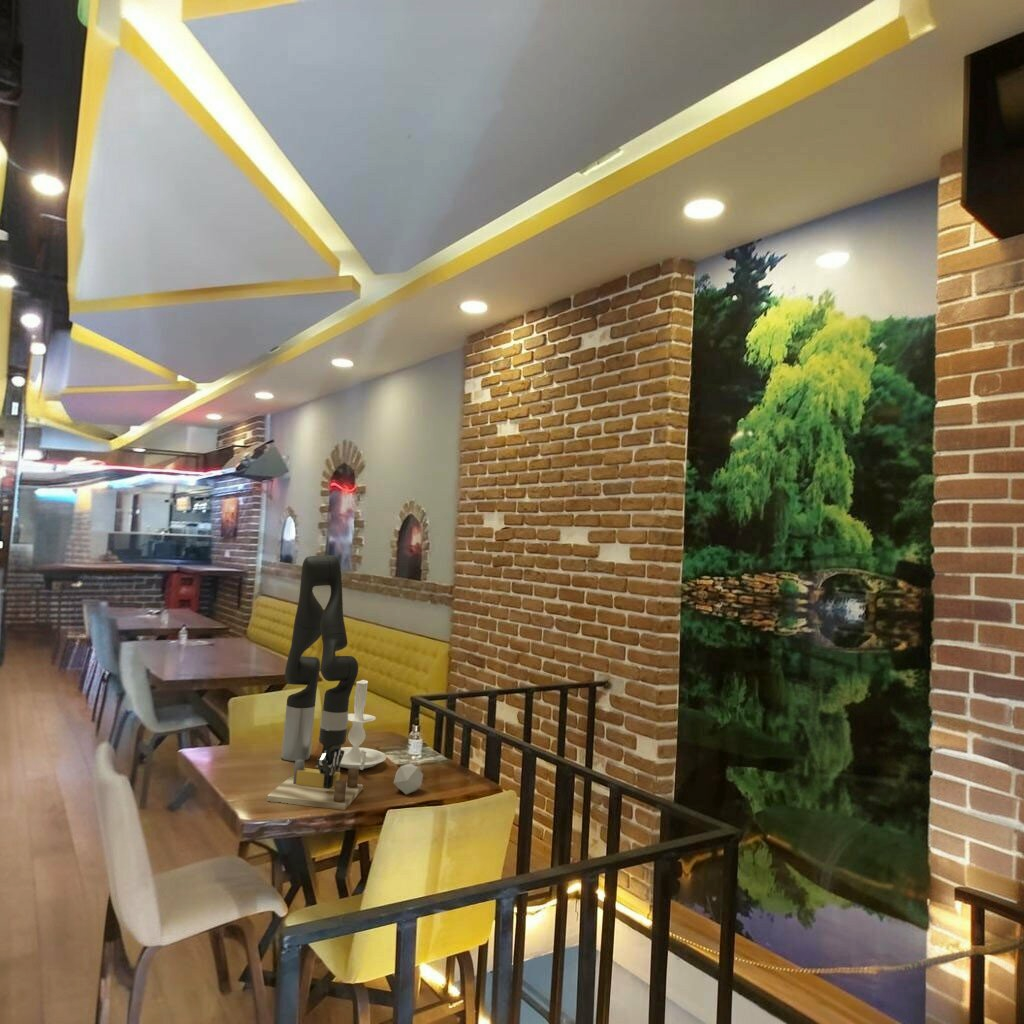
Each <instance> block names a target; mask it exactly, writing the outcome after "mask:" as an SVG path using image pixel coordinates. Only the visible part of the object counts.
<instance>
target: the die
mask: <svg viewBox="0 0 1024 1024" xmlns="http://www.w3.org/2000/svg"><path fill="white" fill-rule="evenodd" d="M423 777H424V773H423V772H422V771H421V770H420V769H419V768H418V767H417V766H416V765H415V764H414V763H412V762H410V763H407V764H404V765H401V766H400V767H399V768H398V769H397V771H396V773H395V775H394V779H393V784H394V785H395V786H396V787H397V788H398V789H399V790H400V792H402V793H403V794H405V795H406V796H407V795H409V794H412V793H414V792H417V791H418V790H419V788H420V787H421V786H422V783H423Z"/></svg>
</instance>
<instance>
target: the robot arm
mask: <svg viewBox="0 0 1024 1024" xmlns="http://www.w3.org/2000/svg"><path fill="white" fill-rule="evenodd" d="M300 576H301V577H300V585H299V586H300V587H299V596H298V603H297V607H296V611H295V612H296V613H295V617H294V622H293V629H292V638H291V644H290V649H289V653H288V657H287V661H286V664H285V665H286V666H285V671H284V679H285V682H286V683H287V684H289V685H294V686H295V685H296V686H297V685H298V686H302V685H303V686H305V688H304V689H302V690H301V691H298V692H295V693H292V694H289V695H288V696H287V699H286V707H285V717H284V726H283V736H282V737H283V738H282V744H281V755H280V756H281V759H282V760H284V761H290V762H295V760H297V759H303V760H305V761H307V760H309V759H310V758H311V750H312V740H313V732H314V731H313V729H314V719H315V709H316V708H315V707H316V698H317V688H318V683H319V676H320V673H321V676H322V677H323V679H324V680H325V681H327V682H338V684H337V685H336V686H334V687H332V688H329V689H326V691H324V696H323V706H322V708H323V709H322V714H321V718H320V727H319V736H318V742H319V744H322V750H321V757H319V758H318V757H317V759H316V764H317V765H318V768H319V771H320V774H324V783H323V787H324V788H327V789H329V788H331V787H332V786H333V776H334V774H335V771H336V770H338V768H340V767H339V766H340V763H341V760H342V758H343V755H344V751H343V750H341V748H342V746H343V745H345V743H346V741H347V735H348V733H347V732H348V723H349V721H348V714H349V704H350V703H349V702H350V697H351V693H352V690H353V687H354V684H355V683H356V680H357V677H358V673H359V663H358V661H357V659H356V658H355V657H354V656H353V655H336V652H338V651H341V650H343V649H345V648H347V645H348V637H347V630H346V625H345V619H344V608H343V607H344V606H343V604H344V603H343V581H342V569H341V564H340V560H339V557H337V556H336V555H332V554H331V555H330V554H327V555H309V556H306V557H305V558H304V560H303V562H302V566H301V575H300ZM321 586H323V587H325V586H329V587H330V594H329V595H330V596H329V600H328V602H327V603H326V604H327V605H326V606H325V608H323V606H322V605H321V604H320V602H319V600H318V599H317V597H316V596H315V594H314V591H313V590H314V588H315V587H321ZM320 637H321V640H322V654H321V661H320V659H319V657H315V656H302V655H303V654H305V651H307V650H308V649H309V648H311V646H313V645H314V644H315V643H316V642H317V641H318V640H319V639H320ZM320 662H321V663H320ZM317 765H316V766H317Z"/></svg>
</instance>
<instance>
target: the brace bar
mask: <svg viewBox="0 0 1024 1024" xmlns="http://www.w3.org/2000/svg"><path fill="white" fill-rule="evenodd" d="M305 761H306V760H303V759H297V760H295V761H294V770H293V771H294V772H293V773H294V774H293V777H294V780H293V783H294V784H298V785H305V786H313V787H321V788H324V787H323V783H324V774H320V771H319V770H317V769H315V768H310V767H305ZM336 781H341V771H340V772H335V774H334V776H333V786H332V787H331V788H329V789H335V782H336Z"/></svg>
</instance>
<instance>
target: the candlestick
mask: <svg viewBox="0 0 1024 1024" xmlns="http://www.w3.org/2000/svg"><path fill="white" fill-rule="evenodd" d="M368 683H369V681H368V680H366V679H361V680H358V681H355V690H354V700H353V701H354V707H353V711H354V713H348V722H351V724H352V725H351V728H350V729H349V731H348V733H347V739H348V742H349V743H350V745H351V746H346V747H344V746H343V747H342V746H341V750H343V751H344V755H343V758H342V760H341V763H340V766H339V768H344V769H349V768H358V769H359V771H360V770H361V771H363V770H364V769H368V768H372V767H375V766H376V765H379V764H380V763H383V762H384V761H386V759H387V754H385V753H384V752H382V751H379V750H376V749H374V748H368V747H360V745H362V743H364V741H365V739H366V735H367V734H366V731H365V729H364V724H365V723H368V722H373V721H375V720H377V717H376V716H375V715H371V714H367V713H364V712H365V707H366V706H367V705H366V704H367V695H368V694H367V693H368V686H369V685H368Z"/></svg>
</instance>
